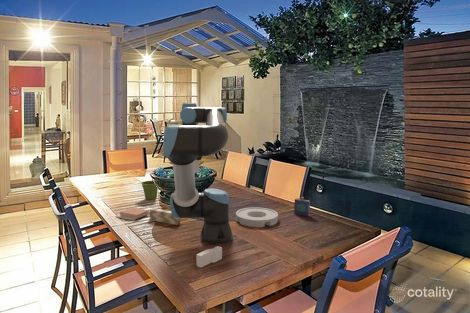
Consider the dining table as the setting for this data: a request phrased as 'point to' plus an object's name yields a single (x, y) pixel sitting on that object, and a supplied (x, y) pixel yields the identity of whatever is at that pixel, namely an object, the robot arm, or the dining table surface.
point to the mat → (127, 217)
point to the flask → (302, 207)
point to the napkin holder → (209, 256)
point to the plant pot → (149, 190)
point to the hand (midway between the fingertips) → (190, 174)
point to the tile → (134, 213)
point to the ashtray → (256, 217)
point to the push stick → (163, 216)
